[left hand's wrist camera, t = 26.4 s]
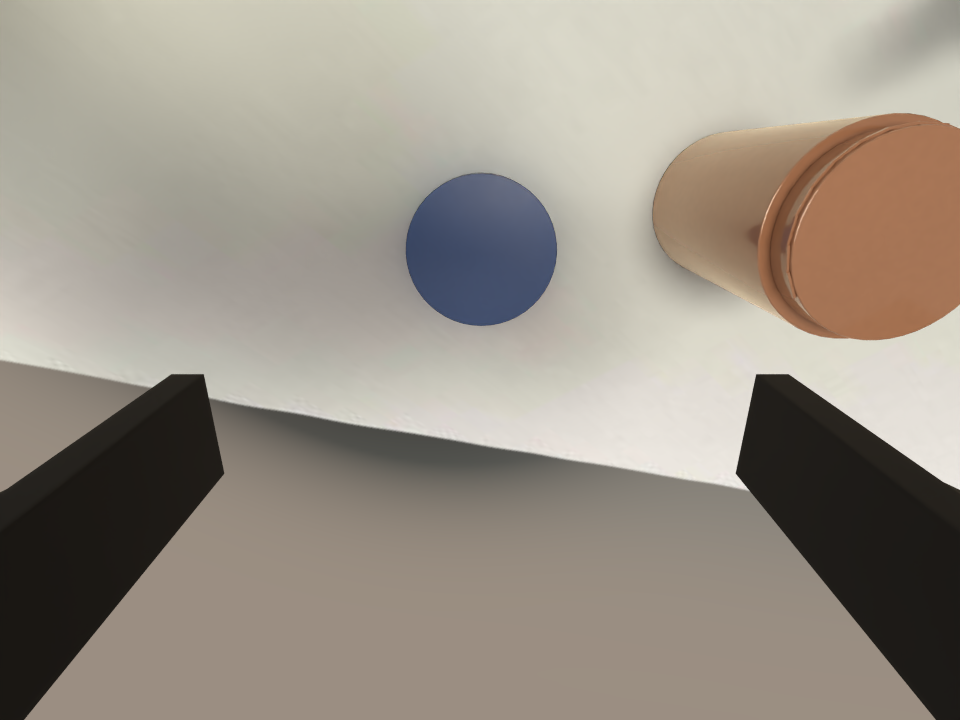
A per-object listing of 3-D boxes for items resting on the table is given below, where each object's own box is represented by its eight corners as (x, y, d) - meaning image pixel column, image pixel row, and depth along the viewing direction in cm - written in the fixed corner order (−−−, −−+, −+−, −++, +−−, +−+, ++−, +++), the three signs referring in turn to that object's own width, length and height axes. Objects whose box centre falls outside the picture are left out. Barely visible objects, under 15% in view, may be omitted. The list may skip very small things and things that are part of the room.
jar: (771, 104, 35) (1013, 59, 19) (805, 238, 38) (1037, 294, 22) (633, 172, 36) (751, 181, 21) (676, 294, 39) (808, 385, 24)
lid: (389, 287, 39) (385, 293, 37) (440, 147, 36) (437, 147, 34) (517, 338, 41) (519, 346, 39) (577, 209, 37) (583, 211, 35)
